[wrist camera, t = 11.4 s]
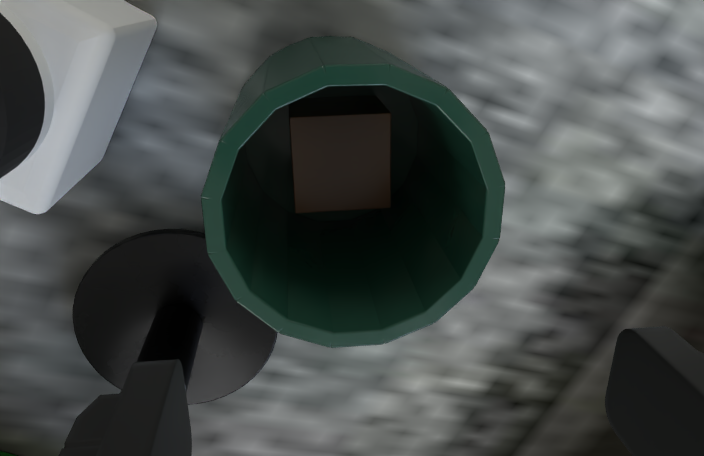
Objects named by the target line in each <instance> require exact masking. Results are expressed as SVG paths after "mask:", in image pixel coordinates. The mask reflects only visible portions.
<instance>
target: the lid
mask: <svg viewBox="0 0 704 456" xmlns="http://www.w3.org/2000/svg"><path fill="white" fill-rule="evenodd" d="M73 324H74V331H75V334H76V337H77V341H78V343H79V345H80V348H81V350H82V352H83V354H84V355H85V357H86V358H87V360H88V361H89V363H90V364H91V365H92V366H93V367H94V368H95V370H96V371H97V372H98V373H99V374H100V375H102V376H103V377H104V378H105V379H106V380H107V381H109V382H110V383H112V384H113V385H114V386H116V387H117V388H119V389H121V390H122V388H123V386H124V383H125V381H126V378H127V376H128V373H129V371H130V368H131V366H132V364H133V363H134V362H145V361H159V360H174V359H179V360H180V362H181V364H182V369H183V376H184V383H185V390H186V398H187V405H190V404H198V403H204V402H208V401H212V400H216V399H218V398H221V397H224V396H226V395H228V394H230V393H232V392H234V391H236V390H238V389H239V388H241V387H242V386H244V385H245V384H247V383H248V382H249V381H250V380H251V379H253V378H254V377H255V376H256V375H257V373H258V372H259V371H260V370H261V369H262V368H263V366H264V365H265V363H266V362H267V361H268V359H269V357H270V355H271V353H272V351H273V348H274V345H275V342H276V338H277V332H276V331H275V330H274V329H272V328H271V327H270V326H268V325H267V324H266V323H264V322H263V321H262V320H260V319H259V318H258V317H256V316H255V315H254V314H252V313H251V312H249V311H248V310H247V309H245V308H244V307H243V306H241V305H240V304H239V303H237V301H236V300H235V299H234V298H233V296H232V295H231V293H230V291H229V290H228V288H227V286H226V284H225V283H224V281H223V279H222V278H221V276H220V274H219V273H218V271H217V269H216V268H215V266H214V264H213V263H212V261H211V259H210V257H209V256H208V252H207V248H206V239H205V234H204V233H200V232H196V231H190V230H182V229H164V230H154V231H149V232H145V233H140V234H137V235H135V236H132V237H129V238H126V239H125V240H123V241H121V242H119V243H117V244H115V245H114V246H112V247H111V248H109V249H108V250H106V251H105V252H104V253H103V254H102V255H101V256H100V257H99V258H98V259H97V260H95V262H94V263H93V264H92V266H91V267H90V268H89V269H88V271H87V272H86V274H85V275H84V277H83V279H82V281H81V282H80V284H79V287H78V289H77V292H76V295H75V299H74V305H73Z"/></svg>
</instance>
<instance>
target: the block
mask: <svg viewBox="0 0 704 456" xmlns="http://www.w3.org/2000/svg"><path fill="white" fill-rule="evenodd" d="M289 126H290V142H291V158H292V174H293V190H294V205H295V213H311V212H328V211H345V210H363V209H380V208H390V207H391V112H390V111H389V110H388V109H387V108H386V107H385V105H384V104H383V103H382V102H381V101H380V100H379V98H378V97H377V96H354V97H329V98H303V99H299V100H297V101H295V102H293V103H290V104H289Z"/></svg>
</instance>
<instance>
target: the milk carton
mask: <svg viewBox="0 0 704 456" xmlns="http://www.w3.org/2000/svg"><path fill="white" fill-rule="evenodd" d="M0 456H17V455H13V454H9V453H6V452H2V451H0Z"/></svg>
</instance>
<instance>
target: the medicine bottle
mask: <svg viewBox="0 0 704 456" xmlns="http://www.w3.org/2000/svg"><path fill="white" fill-rule="evenodd" d="M156 29H157V21H156V19H155V18H154V17H153V16H152V15H150V14H148V13H146V12H144V11H143V10H141V9H139V8H137V7H135V6H133V5H131V4H129V3H128V2H126V1H124V0H0V200H1V201H4V202H6V203H9V204H11V205H14V206H16V207H18V208H21V209H23V210H26V211H28V212H31V213H33V214H41V213H45V212H46V211H47V210H49V209H50V208H51V207H52V206H53V205H54V204H55V203H56V202H57V201H58V200H59V199H60V198H62V197H63V196H64V195H65V194H66V193H67V192H68V191H69V190H70V189H71V188H72V187H73V186H74V185H76V184H77V183H78V182H79V181H80V180H81V179H82V178H83V177H84V176H85V175H86V174H87V173H88V172H90V171H91V170H92V169H93V168H94V167H95V166H96V165H97V164H98V163H99V162H100V161H101V160H102V159H103V156H104V154H105V152H106V149H107V147H108V144H109V142H110V140H111V137H112V135H113V132H114V130H115V127H116V125H117V123H118V120H119V118H120V115H121V113H122V111H123V108H124V106H125V103H126V101H127V99H128V96H129V94H130V91H131V89H132V86H133V84H134V82H135V79H136V77H137V74H138V72H139V70H140V67H141V65H142V62H143V60H144V58H145V55H146V53H147V50H148V48H149V45H150V43H151V41H152V38H153V36H154V33H155V31H156Z"/></svg>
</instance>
